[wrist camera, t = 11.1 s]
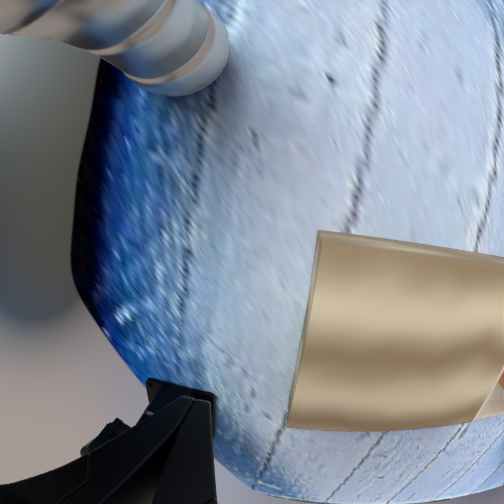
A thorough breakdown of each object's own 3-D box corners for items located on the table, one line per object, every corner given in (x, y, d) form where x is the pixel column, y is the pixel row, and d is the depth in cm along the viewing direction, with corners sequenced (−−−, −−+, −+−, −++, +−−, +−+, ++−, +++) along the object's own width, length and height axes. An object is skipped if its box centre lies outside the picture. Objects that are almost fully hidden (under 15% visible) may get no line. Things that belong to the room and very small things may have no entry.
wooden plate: (459, 398, 20) (471, 421, 17) (289, 397, 22) (286, 427, 19) (513, 259, 16) (538, 272, 13) (318, 229, 18) (322, 242, 15)
